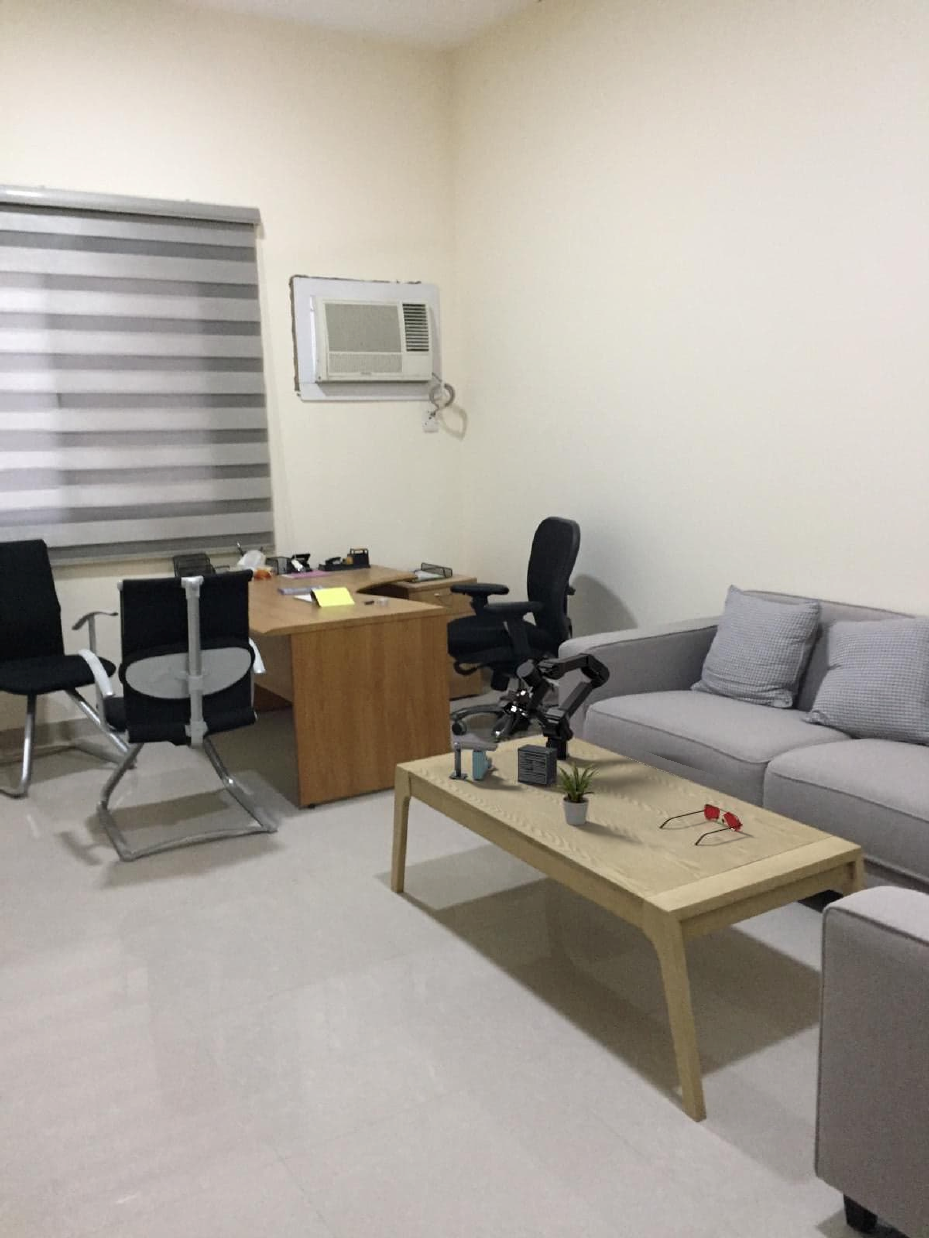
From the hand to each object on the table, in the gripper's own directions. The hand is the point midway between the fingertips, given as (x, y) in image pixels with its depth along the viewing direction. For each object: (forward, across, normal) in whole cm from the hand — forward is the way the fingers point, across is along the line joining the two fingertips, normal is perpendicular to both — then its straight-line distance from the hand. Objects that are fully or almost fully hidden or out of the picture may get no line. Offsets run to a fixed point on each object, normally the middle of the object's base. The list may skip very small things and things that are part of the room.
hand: (508, 735), depth 311 cm
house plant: (+17, +47, -2) cm, 50 cm away
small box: (+8, +14, +8) cm, 18 cm away
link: (+13, -3, +2) cm, 14 cm away
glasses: (+4, +71, +13) cm, 72 cm away
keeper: (+17, 0, -2) cm, 18 cm away
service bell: (+11, -7, +5) cm, 14 cm away
